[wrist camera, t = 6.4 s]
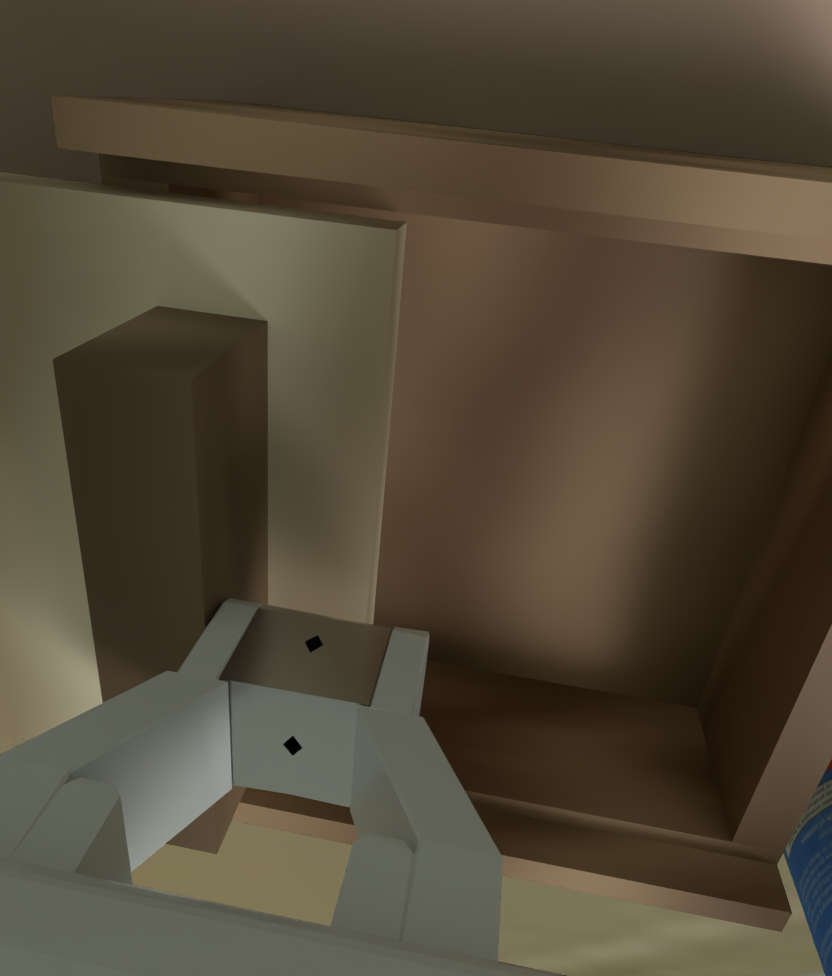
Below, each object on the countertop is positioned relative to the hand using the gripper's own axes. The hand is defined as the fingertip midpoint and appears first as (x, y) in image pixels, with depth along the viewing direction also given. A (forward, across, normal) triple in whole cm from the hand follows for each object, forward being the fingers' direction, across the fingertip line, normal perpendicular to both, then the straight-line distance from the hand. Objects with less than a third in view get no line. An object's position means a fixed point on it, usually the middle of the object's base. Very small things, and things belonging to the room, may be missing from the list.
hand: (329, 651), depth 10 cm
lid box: (+7, -2, 0) cm, 7 cm away
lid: (+3, +6, 0) cm, 7 cm away
